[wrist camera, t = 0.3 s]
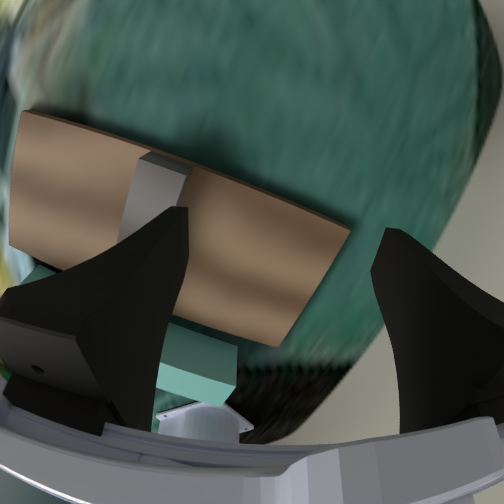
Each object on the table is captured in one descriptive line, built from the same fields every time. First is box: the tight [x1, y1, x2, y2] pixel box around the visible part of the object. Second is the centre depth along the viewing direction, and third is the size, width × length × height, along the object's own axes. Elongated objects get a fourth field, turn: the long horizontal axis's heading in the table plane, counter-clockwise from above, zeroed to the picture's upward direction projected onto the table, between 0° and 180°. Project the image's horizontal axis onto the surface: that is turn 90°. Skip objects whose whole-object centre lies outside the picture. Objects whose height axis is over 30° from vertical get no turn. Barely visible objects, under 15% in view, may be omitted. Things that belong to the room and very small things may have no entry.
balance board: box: [9, 110, 351, 348], centre depth 21 cm, size 12×26×4 cm, turn 67°
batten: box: [20, 265, 238, 407], centre depth 25 cm, size 20×4×5 cm, turn 65°
